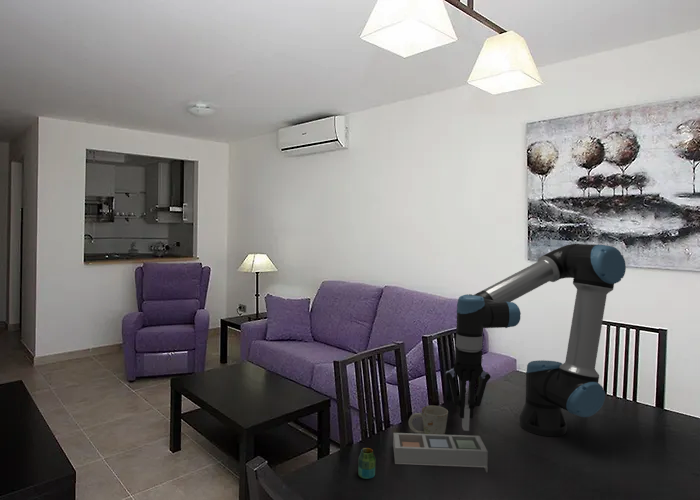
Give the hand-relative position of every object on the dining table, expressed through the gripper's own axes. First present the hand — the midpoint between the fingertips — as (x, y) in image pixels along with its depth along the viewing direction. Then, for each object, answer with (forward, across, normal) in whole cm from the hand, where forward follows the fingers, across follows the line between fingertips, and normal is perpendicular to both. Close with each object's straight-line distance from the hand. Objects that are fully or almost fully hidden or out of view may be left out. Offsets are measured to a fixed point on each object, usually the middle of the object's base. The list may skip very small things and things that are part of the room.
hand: (465, 428), depth 137 cm
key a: (+7, 0, 0) cm, 7 cm away
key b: (+7, +8, 0) cm, 10 cm away
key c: (+8, +16, 0) cm, 18 cm away
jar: (+11, +28, +12) cm, 33 cm away
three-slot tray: (+10, +8, 0) cm, 13 cm away
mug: (+10, +9, -14) cm, 20 cm away
